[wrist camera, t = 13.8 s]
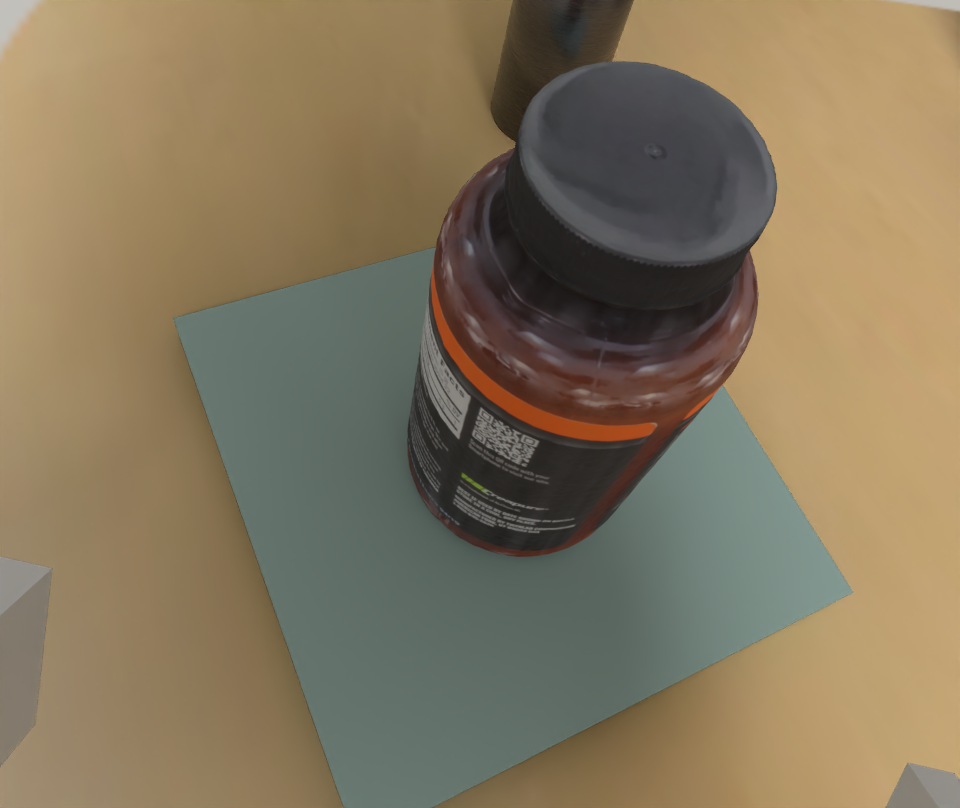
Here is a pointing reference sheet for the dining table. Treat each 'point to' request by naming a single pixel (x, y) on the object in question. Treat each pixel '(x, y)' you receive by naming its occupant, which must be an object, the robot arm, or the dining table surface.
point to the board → (470, 551)
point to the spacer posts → (551, 49)
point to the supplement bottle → (585, 304)
